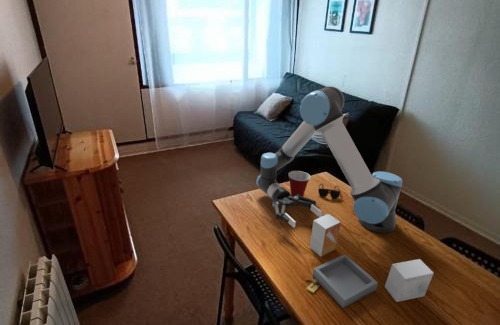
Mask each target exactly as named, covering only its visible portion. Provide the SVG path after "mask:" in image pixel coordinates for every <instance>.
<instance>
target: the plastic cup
mask: <svg viewBox="0 0 500 325" xmlns="http://www.w3.org/2000/svg"><path fill="white" fill-rule="evenodd" d="M287 174H288V178H289V189H290V195H291V196H296V194H299V195H300V196H303V197H304V195H305V192H306V190H307V185H308V182H309V181H310V179H311V178H312V176H311V175H310V174H309V173H308V172H304V171H301V170H291V171H289V172H288V173H287Z"/></svg>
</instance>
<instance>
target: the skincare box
mask: <svg viewBox="0 0 500 325" xmlns="http://www.w3.org/2000/svg"><path fill="white" fill-rule="evenodd" d="M433 276H434V271H433V270H432V269H431V268H430V267H429V266H427V265H426V263H424V261H422V259H420V258H418V259H412V260H408V261H401V262H397V263H392V264H391V266H390V270H389V273H388V276H387V279H386V282H385V285H384V288H385V289H386V291H387V292H388V293H389V294H390V296H391V297H392V299H393V300H394V301H395V302H396V303H399V302H403V301H408V300H412V299H416V298H418V299H419V298H422V297H425V295H426V292H427V291H428V288H429V285H430V282H431V281H432V278H433Z"/></svg>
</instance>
